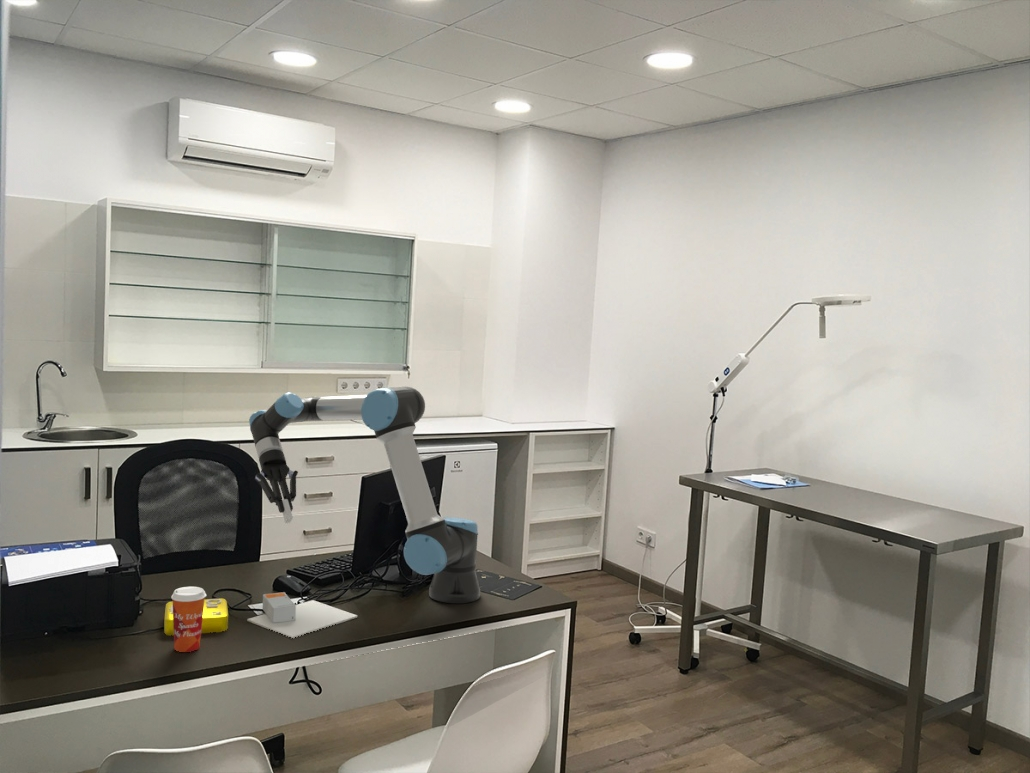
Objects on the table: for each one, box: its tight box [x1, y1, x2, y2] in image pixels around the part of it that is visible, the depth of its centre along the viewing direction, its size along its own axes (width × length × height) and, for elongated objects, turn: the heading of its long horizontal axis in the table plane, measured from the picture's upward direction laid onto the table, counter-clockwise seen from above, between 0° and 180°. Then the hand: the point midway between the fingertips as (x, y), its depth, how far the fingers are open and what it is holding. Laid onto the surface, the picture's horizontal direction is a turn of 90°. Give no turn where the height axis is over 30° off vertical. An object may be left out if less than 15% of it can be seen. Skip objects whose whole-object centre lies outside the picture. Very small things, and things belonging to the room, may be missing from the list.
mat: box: [246, 599, 358, 639], centre depth 226 cm, size 18×22×1 cm
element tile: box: [163, 598, 229, 636], centre depth 218 cm, size 15×15×5 cm
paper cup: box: [170, 586, 207, 653], centre depth 201 cm, size 8×8×14 cm
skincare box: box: [261, 591, 297, 623], centre depth 226 cm, size 6×4×12 cm
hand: (289, 520), depth 247 cm, fingers closed
